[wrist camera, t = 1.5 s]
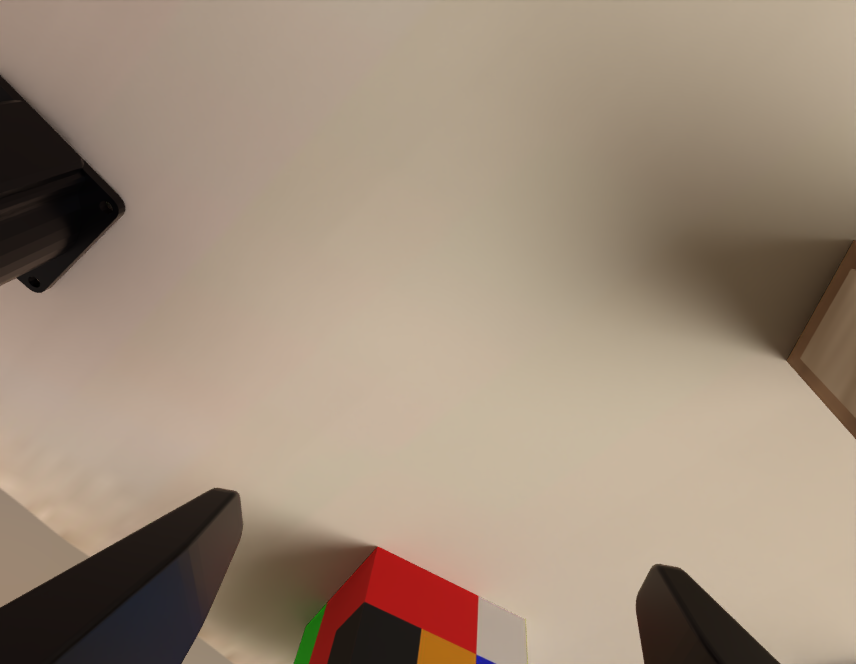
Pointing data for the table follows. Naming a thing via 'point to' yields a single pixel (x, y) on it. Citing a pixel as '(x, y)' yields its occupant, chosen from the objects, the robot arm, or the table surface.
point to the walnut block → (832, 345)
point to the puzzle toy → (410, 621)
